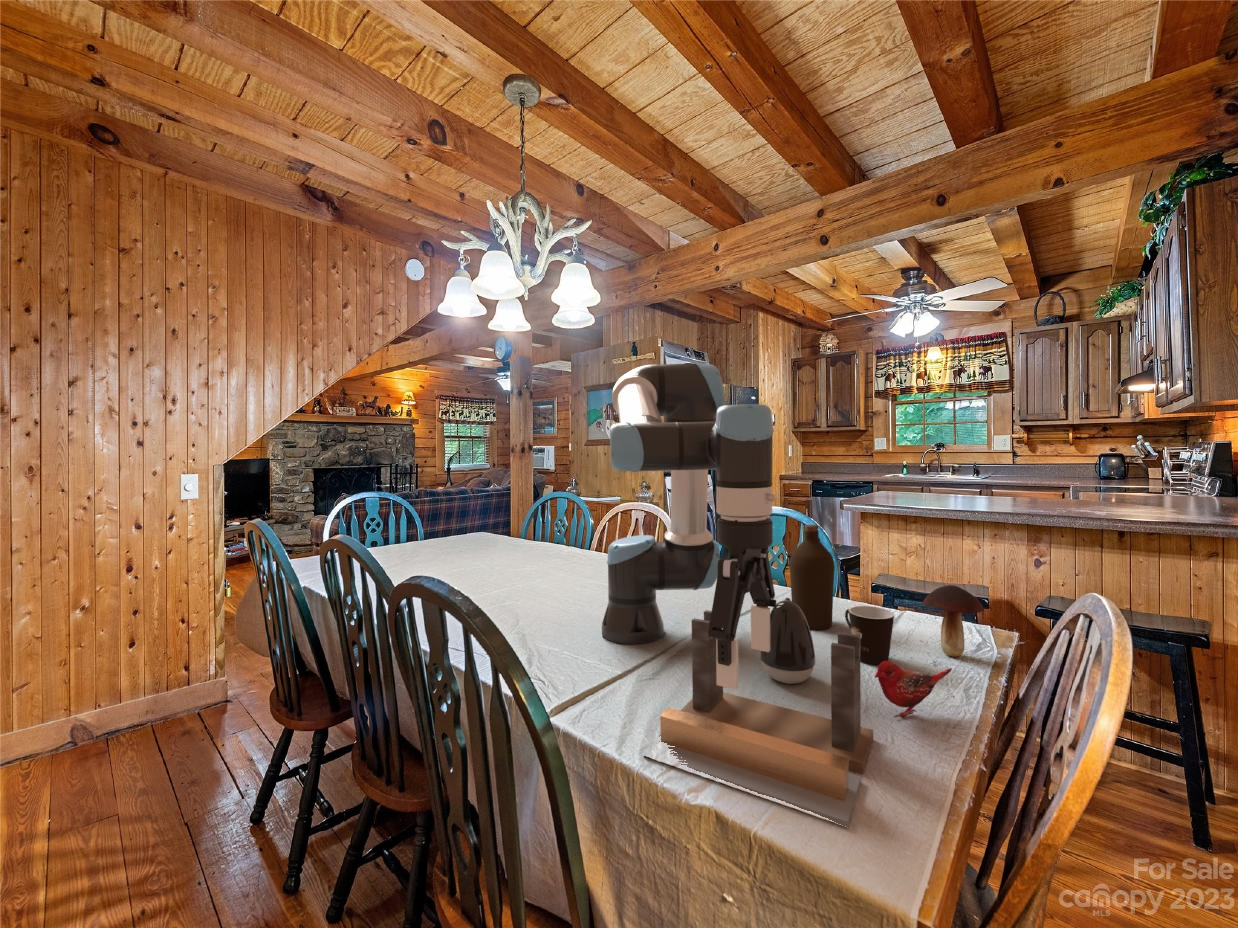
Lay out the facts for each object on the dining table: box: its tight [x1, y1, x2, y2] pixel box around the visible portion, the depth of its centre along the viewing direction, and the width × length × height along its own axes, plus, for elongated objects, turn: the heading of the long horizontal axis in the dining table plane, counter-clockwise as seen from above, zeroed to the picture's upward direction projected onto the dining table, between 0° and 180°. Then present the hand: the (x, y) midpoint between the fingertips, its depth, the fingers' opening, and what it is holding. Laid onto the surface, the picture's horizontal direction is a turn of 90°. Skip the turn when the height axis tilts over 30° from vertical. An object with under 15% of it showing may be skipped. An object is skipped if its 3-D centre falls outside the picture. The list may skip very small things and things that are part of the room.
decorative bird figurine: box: [874, 660, 953, 718], centre depth 88 cm, size 3×18×10 cm, turn 111°
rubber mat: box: [658, 733, 862, 828], centre depth 74 cm, size 28×10×1 cm, turn 57°
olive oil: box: [789, 523, 836, 631], centre depth 132 cm, size 11×11×25 cm
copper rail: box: [659, 707, 850, 802], centre depth 74 cm, size 26×3×4 cm, turn 57°
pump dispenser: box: [759, 597, 817, 685], centre depth 102 cm, size 10×10×15 cm
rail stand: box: [680, 609, 874, 775], centre depth 84 cm, size 28×10×16 cm, turn 57°
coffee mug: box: [844, 605, 895, 667], centre depth 112 cm, size 12×9×10 cm
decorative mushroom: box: [922, 584, 985, 658], centre depth 111 cm, size 11×11×15 cm
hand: (745, 666), depth 74 cm, fingers open, 13 cm apart
